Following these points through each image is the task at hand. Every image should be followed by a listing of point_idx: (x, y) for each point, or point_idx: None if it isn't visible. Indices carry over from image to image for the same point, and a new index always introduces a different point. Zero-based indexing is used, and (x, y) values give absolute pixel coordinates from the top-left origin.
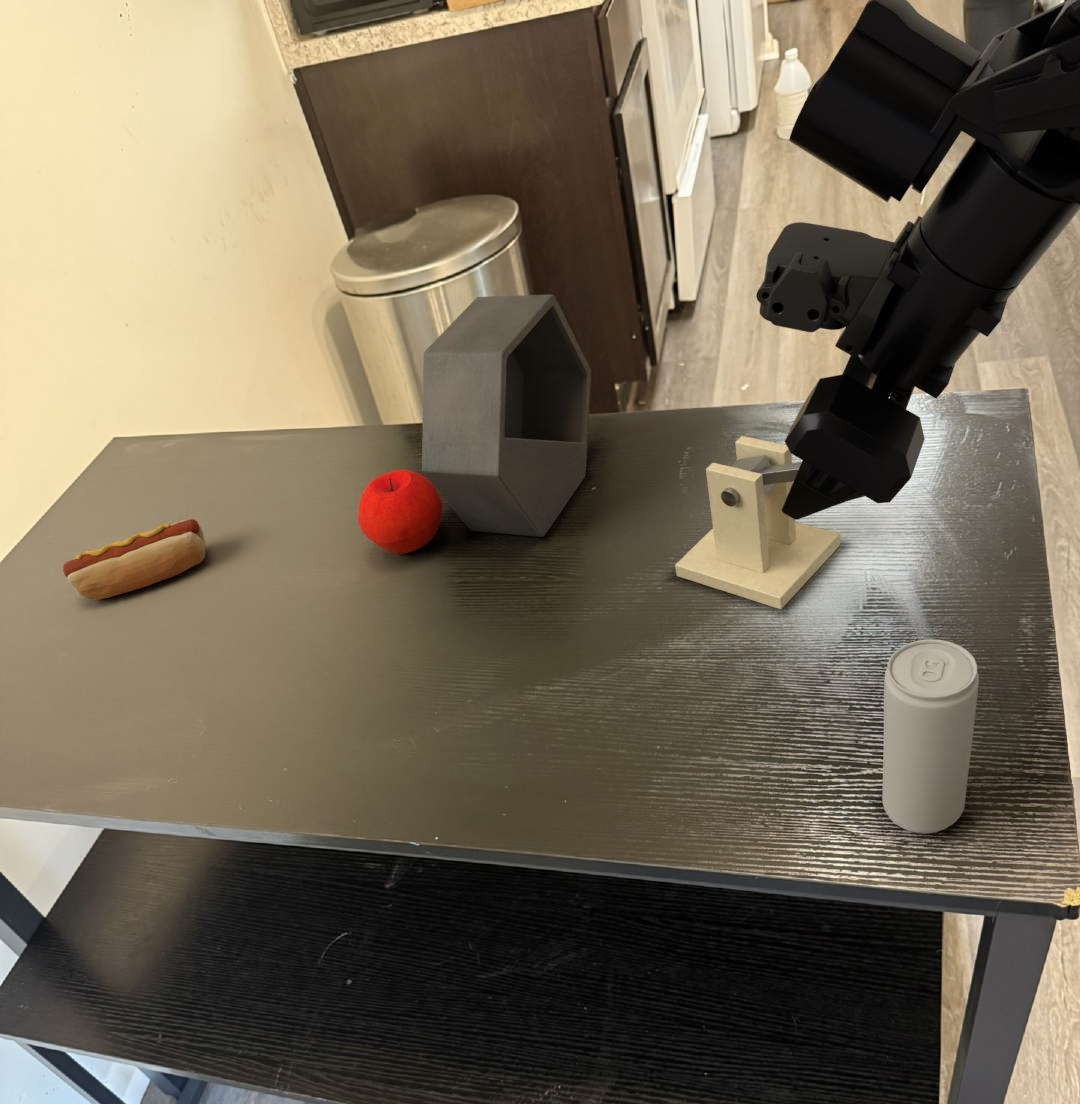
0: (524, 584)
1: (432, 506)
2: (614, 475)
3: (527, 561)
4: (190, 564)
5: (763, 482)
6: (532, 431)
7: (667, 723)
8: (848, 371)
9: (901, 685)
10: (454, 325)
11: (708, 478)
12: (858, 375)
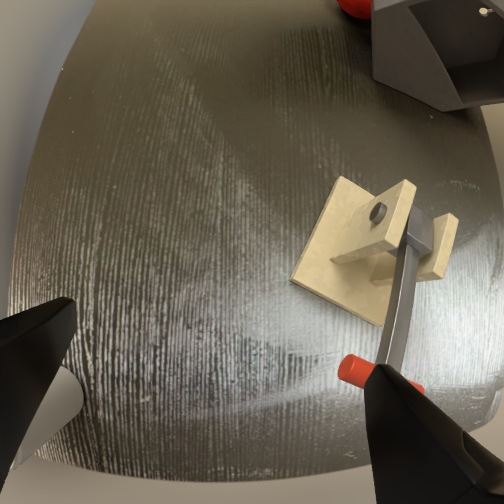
0: (318, 67)
1: (366, 3)
2: (446, 132)
3: (345, 69)
4: None
5: (399, 250)
6: (461, 71)
7: (140, 190)
8: (439, 454)
9: None
10: None
11: (397, 184)
12: (424, 473)
